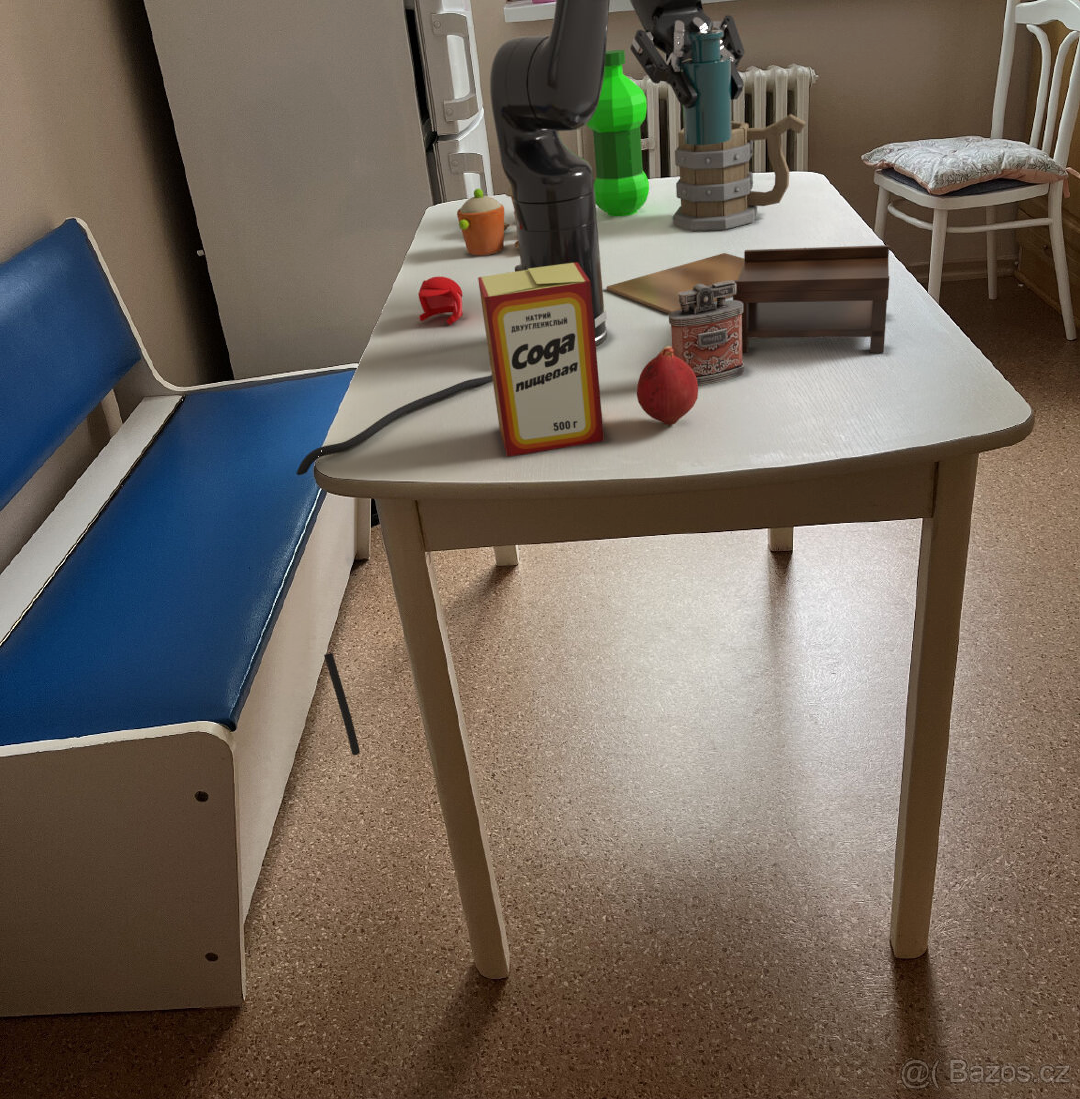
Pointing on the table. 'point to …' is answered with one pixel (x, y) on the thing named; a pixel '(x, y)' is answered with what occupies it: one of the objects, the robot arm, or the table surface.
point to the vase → (708, 91)
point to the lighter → (709, 332)
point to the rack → (815, 293)
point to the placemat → (679, 281)
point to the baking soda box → (543, 357)
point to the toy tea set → (483, 224)
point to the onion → (667, 387)
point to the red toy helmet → (440, 298)
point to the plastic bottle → (619, 141)
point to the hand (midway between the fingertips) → (715, 98)
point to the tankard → (728, 177)
